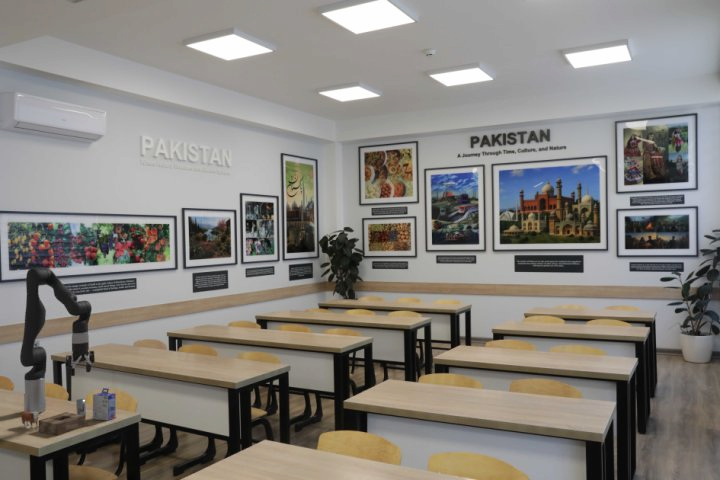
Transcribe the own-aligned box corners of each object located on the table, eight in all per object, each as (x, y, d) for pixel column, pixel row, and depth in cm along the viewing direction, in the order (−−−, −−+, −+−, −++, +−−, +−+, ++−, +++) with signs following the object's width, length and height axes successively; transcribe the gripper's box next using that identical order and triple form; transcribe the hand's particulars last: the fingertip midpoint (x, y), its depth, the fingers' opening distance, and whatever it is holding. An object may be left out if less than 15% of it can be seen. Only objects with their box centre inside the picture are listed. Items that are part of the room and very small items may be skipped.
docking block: (38, 431, 265) (38, 420, 265) (66, 422, 277) (66, 412, 277) (58, 435, 258) (57, 424, 258) (85, 426, 271) (85, 415, 271)
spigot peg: (75, 418, 283) (74, 400, 283) (82, 416, 287) (81, 398, 287) (80, 419, 281) (79, 401, 281) (87, 417, 285) (87, 399, 285)
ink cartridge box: (116, 417, 283) (116, 388, 283) (108, 421, 278) (107, 391, 278) (100, 416, 286) (100, 387, 286) (92, 419, 281) (91, 390, 281)
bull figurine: (34, 431, 265) (34, 413, 265) (19, 426, 272) (18, 409, 272) (43, 428, 269) (43, 411, 269) (28, 423, 276) (28, 407, 276)
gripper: (88, 338, 291) (88, 370, 292) (62, 343, 279) (62, 376, 279) (97, 339, 288) (98, 371, 288) (72, 344, 275) (72, 378, 275)
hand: (80, 373), depth 284 cm, fingers open, 8 cm apart
